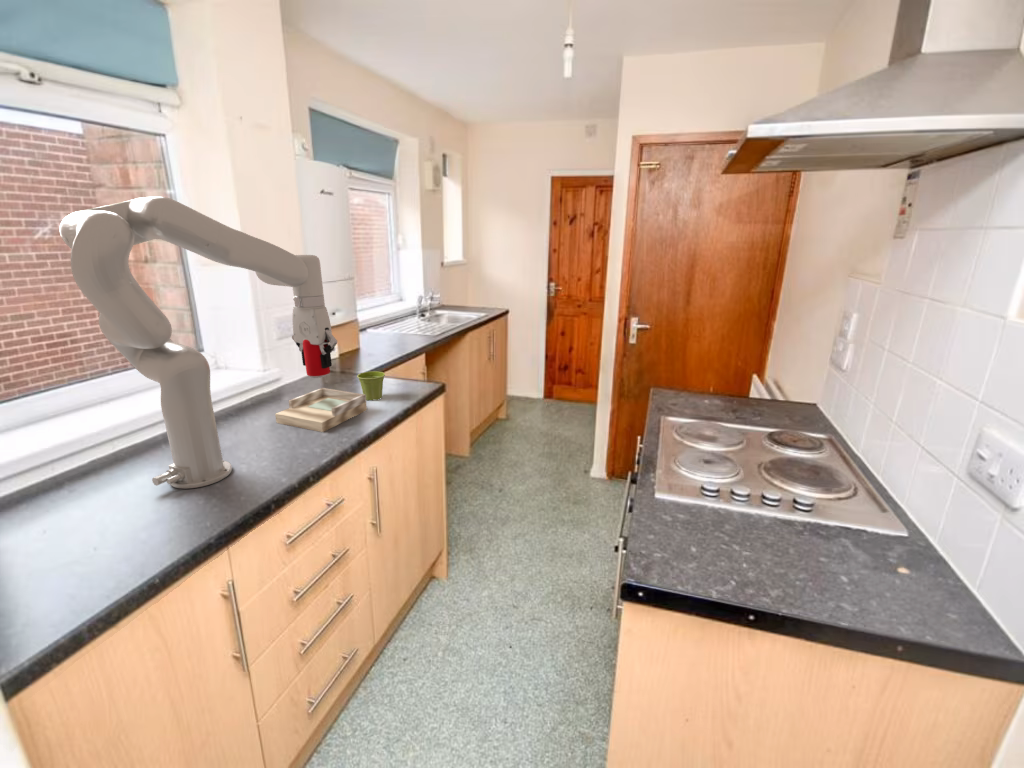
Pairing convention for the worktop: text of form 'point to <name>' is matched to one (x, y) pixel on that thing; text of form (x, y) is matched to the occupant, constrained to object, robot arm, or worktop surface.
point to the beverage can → (314, 360)
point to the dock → (322, 409)
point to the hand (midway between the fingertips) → (317, 365)
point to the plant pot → (372, 384)
